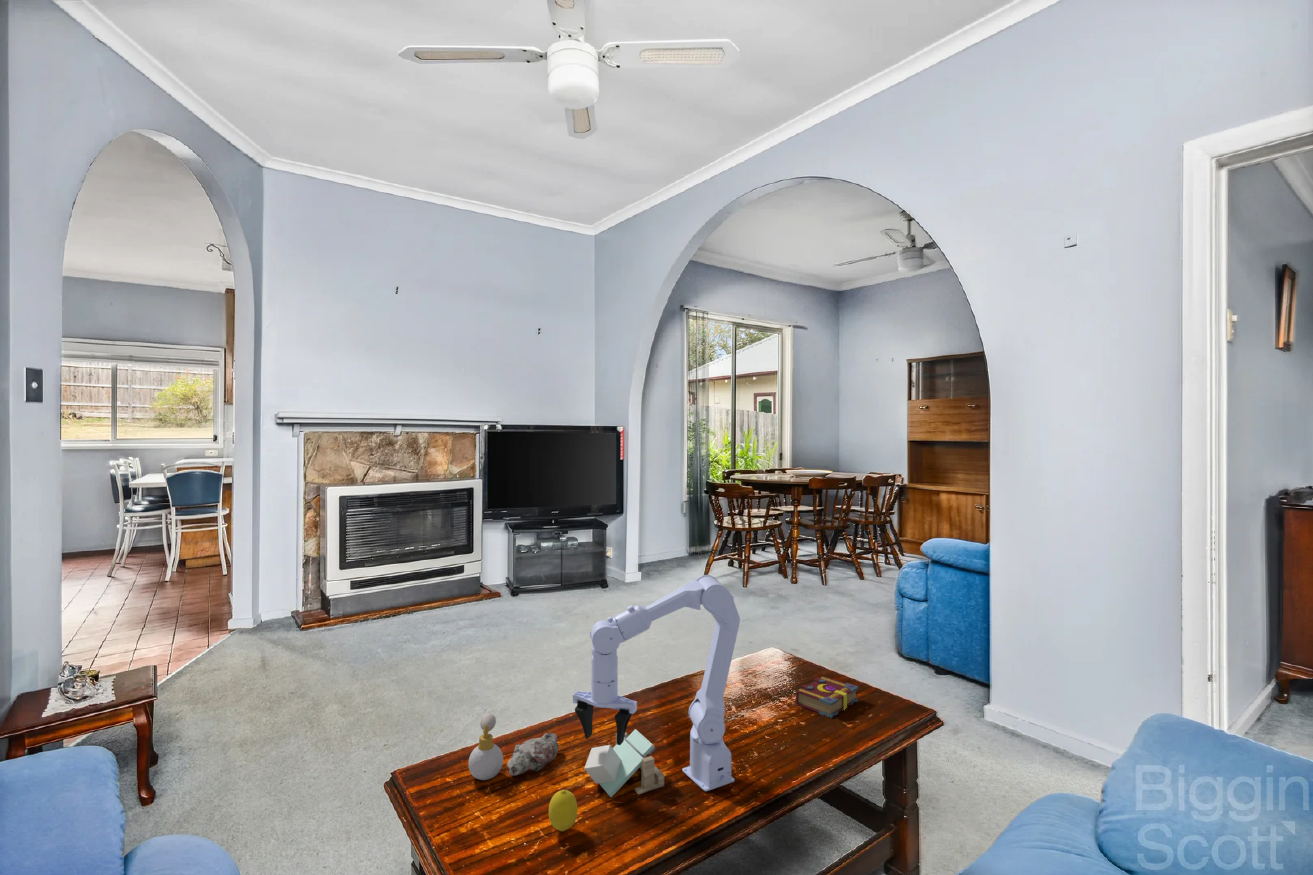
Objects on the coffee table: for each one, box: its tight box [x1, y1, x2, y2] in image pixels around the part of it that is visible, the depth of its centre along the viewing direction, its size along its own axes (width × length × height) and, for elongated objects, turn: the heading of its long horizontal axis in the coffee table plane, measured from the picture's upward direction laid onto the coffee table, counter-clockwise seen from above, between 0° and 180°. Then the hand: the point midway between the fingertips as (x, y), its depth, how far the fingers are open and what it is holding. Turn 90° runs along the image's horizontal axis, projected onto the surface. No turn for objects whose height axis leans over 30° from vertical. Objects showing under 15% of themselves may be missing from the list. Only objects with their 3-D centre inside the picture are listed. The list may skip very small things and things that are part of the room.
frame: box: [615, 732, 665, 795], centre depth 140 cm, size 14×6×7 cm, turn 30°
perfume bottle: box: [468, 712, 504, 781], centre depth 140 cm, size 8×10×12 cm
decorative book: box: [795, 676, 859, 719], centre depth 177 cm, size 11×16×5 cm
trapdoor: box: [598, 728, 656, 798], centre depth 138 cm, size 11×14×2 cm
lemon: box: [548, 789, 578, 832], centre depth 120 cm, size 6×6×8 cm
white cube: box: [583, 744, 621, 785], centre depth 136 cm, size 5×5×5 cm
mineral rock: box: [506, 732, 559, 777], centre depth 144 cm, size 15×8×4 cm, turn 133°
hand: (604, 739), depth 136 cm, fingers open, 7 cm apart
